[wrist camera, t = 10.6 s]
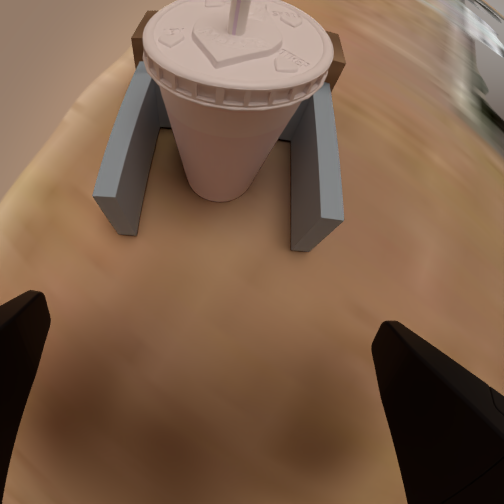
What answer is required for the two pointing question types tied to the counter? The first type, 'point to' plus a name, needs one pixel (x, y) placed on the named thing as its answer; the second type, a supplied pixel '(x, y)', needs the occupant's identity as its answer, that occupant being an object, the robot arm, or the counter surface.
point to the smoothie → (232, 82)
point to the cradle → (297, 131)
